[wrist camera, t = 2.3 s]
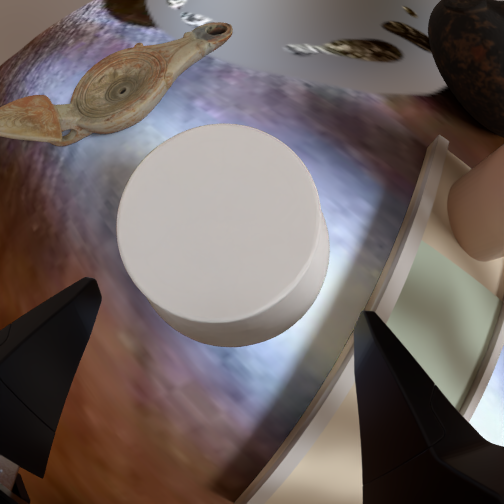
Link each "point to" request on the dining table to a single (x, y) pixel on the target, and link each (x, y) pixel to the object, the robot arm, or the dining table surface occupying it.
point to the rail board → (411, 336)
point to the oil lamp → (112, 90)
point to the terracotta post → (480, 208)
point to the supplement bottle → (224, 234)
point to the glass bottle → (472, 56)
